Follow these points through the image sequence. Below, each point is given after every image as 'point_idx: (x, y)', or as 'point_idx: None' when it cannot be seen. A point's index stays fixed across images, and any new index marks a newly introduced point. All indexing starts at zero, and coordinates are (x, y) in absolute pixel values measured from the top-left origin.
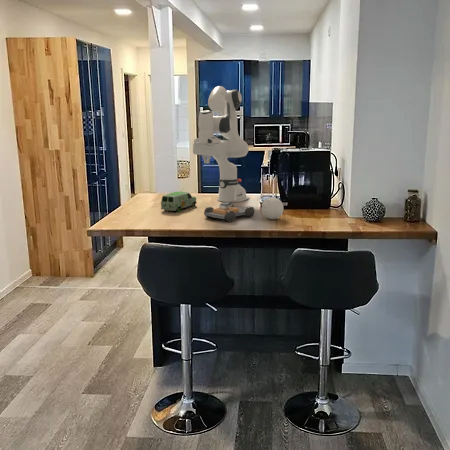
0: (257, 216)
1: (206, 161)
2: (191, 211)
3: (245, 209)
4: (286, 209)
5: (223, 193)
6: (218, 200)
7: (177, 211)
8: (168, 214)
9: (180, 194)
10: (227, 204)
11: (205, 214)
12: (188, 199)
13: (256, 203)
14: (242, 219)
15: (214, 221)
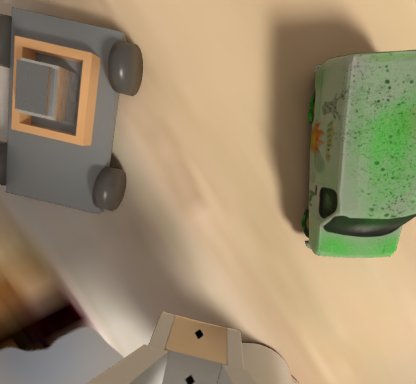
0: None
1: (177, 334)
2: (263, 138)
3: (31, 182)
4: (2, 323)
5: (253, 376)
6: (273, 351)
7: (312, 96)
8: (320, 31)
9: (352, 134)
10: (18, 79)
11: (124, 35)
12: (318, 186)
13: None
14: None
15: None
